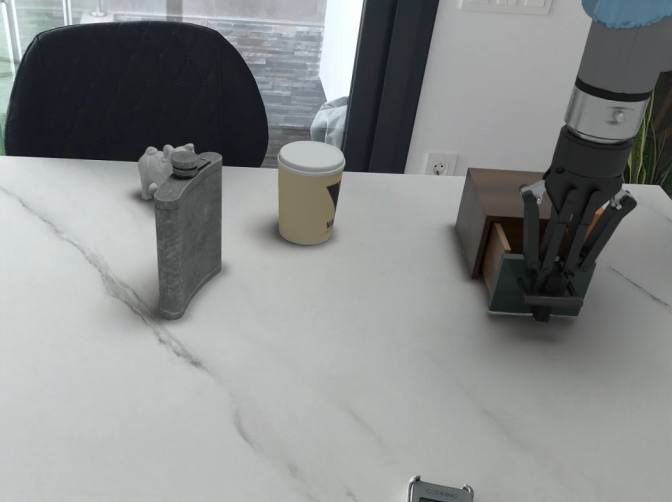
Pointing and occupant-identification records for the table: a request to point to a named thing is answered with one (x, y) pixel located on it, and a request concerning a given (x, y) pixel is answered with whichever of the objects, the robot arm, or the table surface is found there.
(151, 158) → the dog figurine
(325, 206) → the coffee cup
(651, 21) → the robot arm
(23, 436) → the table surface
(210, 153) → the flask
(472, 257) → the cabinet
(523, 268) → the drawer
